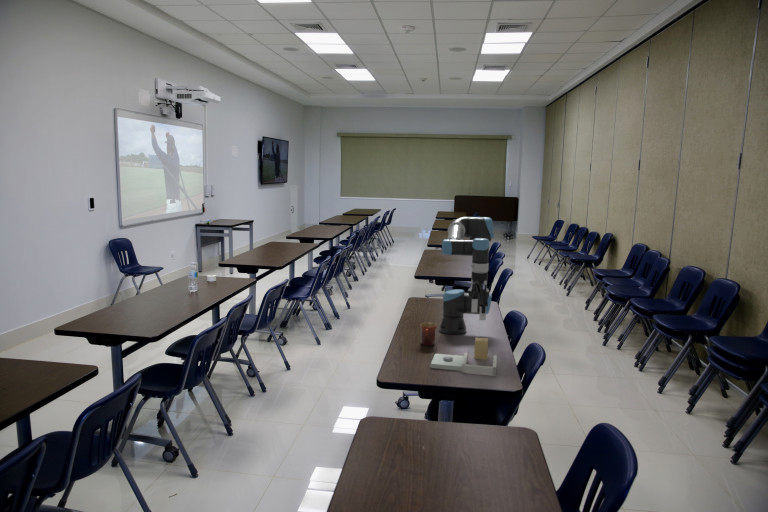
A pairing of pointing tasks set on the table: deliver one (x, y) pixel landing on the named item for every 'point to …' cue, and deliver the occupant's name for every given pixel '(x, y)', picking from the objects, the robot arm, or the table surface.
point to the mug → (428, 333)
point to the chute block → (481, 348)
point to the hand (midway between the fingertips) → (478, 316)
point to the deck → (462, 364)
